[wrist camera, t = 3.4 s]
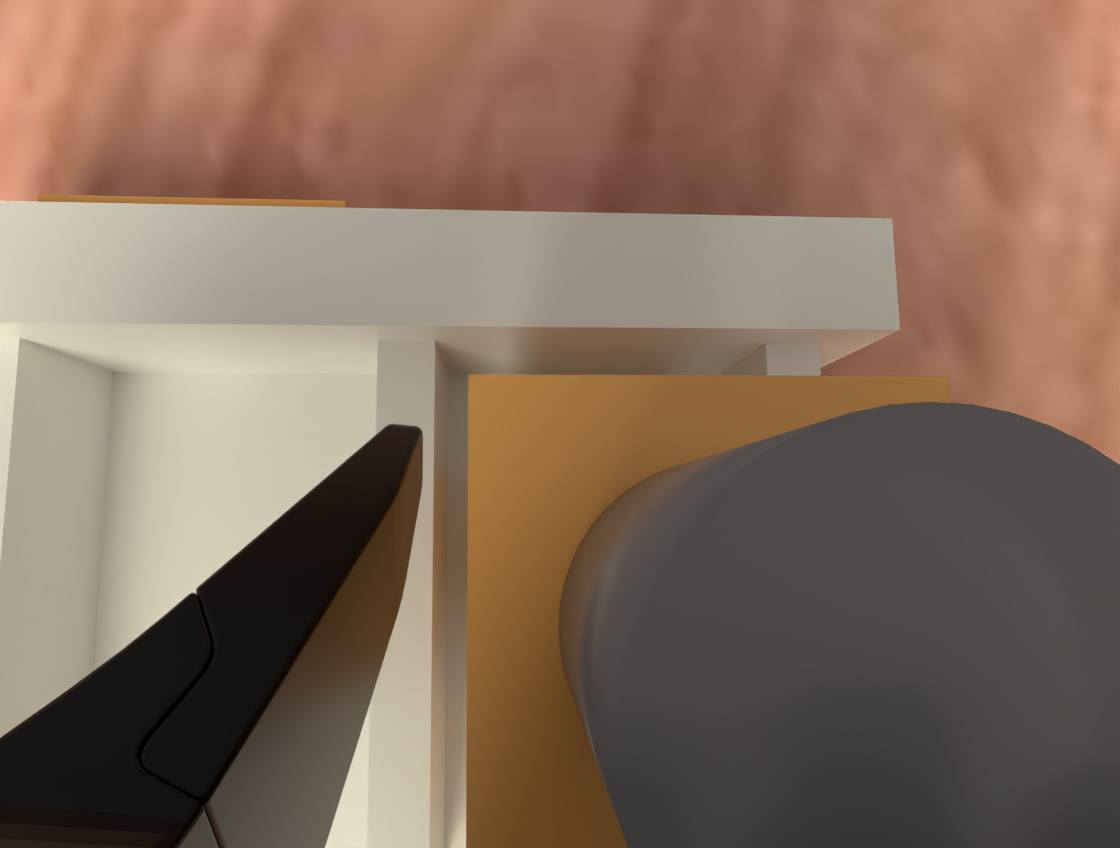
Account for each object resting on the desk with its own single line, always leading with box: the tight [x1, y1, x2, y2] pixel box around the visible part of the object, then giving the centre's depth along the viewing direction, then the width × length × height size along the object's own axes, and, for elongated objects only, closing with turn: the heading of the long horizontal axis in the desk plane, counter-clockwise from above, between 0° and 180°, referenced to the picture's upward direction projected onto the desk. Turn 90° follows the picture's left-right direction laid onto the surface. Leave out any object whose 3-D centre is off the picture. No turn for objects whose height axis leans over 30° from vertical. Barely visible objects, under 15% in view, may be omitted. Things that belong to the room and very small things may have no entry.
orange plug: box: [466, 374, 1120, 848], centre depth 9 cm, size 4×4×13 cm
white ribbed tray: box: [0, 194, 900, 848], centre depth 13 cm, size 18×17×5 cm
